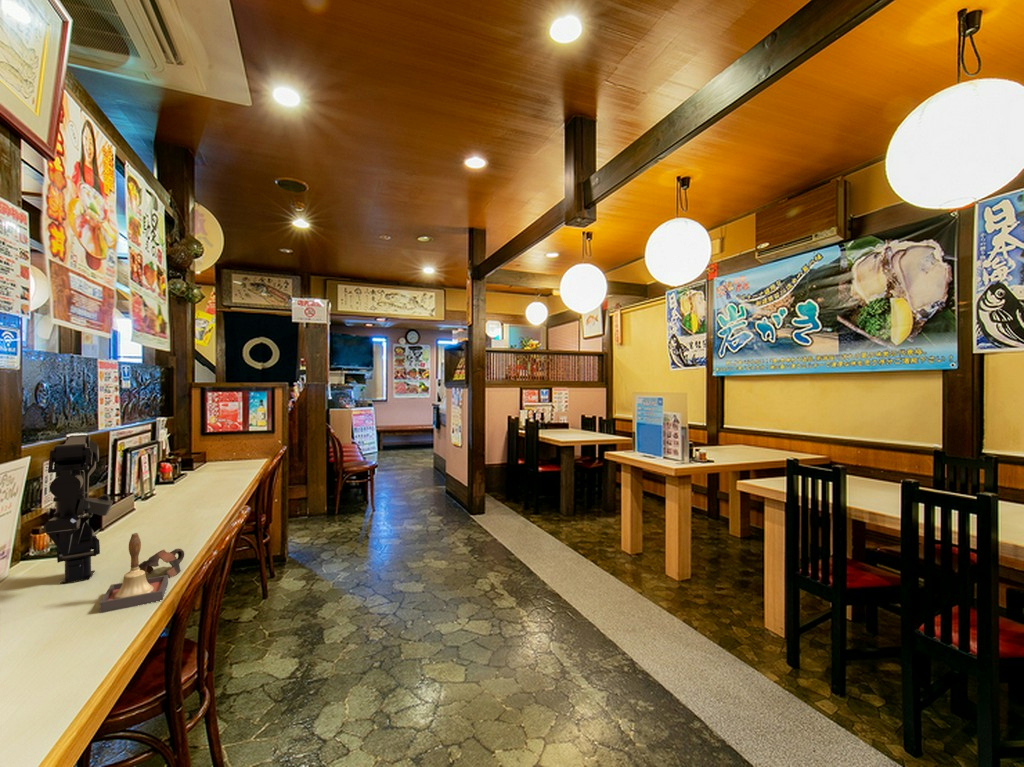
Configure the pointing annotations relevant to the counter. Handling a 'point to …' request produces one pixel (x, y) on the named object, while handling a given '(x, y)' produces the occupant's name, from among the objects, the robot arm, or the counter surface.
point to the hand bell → (134, 573)
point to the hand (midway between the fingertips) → (70, 549)
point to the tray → (114, 604)
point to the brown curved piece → (166, 558)
